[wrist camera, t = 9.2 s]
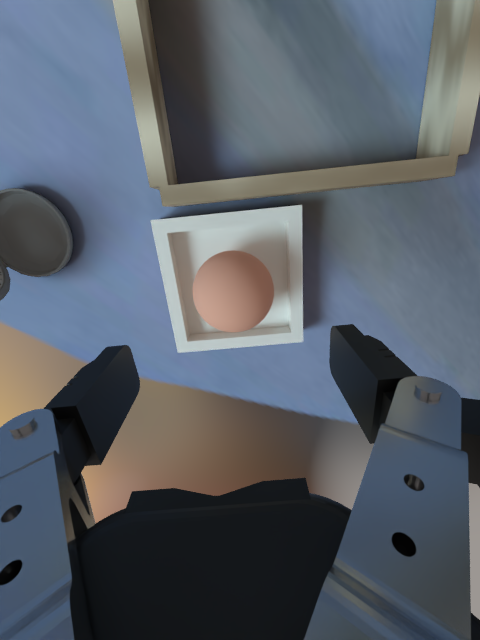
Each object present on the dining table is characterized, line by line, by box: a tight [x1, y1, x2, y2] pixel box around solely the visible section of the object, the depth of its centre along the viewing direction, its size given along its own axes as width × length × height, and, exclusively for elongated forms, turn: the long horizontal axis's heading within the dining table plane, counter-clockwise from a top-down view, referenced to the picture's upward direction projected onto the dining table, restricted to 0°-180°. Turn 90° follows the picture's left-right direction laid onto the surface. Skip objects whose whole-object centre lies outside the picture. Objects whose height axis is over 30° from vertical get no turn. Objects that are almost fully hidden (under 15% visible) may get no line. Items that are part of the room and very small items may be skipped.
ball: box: [193, 250, 274, 332], centre depth 20 cm, size 6×6×6 cm
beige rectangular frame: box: [113, 0, 480, 207], centre depth 17 cm, size 14×20×4 cm
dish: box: [151, 205, 303, 353], centre depth 23 cm, size 11×11×2 cm
